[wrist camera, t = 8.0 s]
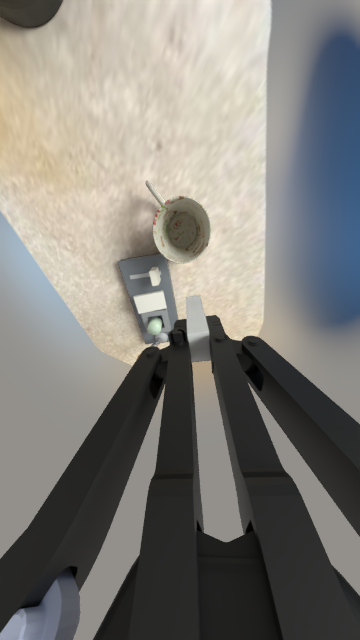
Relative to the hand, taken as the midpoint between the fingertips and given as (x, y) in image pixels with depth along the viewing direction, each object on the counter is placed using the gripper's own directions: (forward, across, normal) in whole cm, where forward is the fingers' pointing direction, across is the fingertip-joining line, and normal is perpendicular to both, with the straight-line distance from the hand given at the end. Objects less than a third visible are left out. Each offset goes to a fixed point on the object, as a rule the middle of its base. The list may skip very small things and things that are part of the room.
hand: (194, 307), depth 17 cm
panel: (+20, -9, -7) cm, 23 cm away
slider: (+18, -7, 0) cm, 19 cm away
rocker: (+17, -9, -5) cm, 20 cm away
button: (+16, -9, -11) cm, 22 cm away
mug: (+20, -2, +9) cm, 22 cm away
